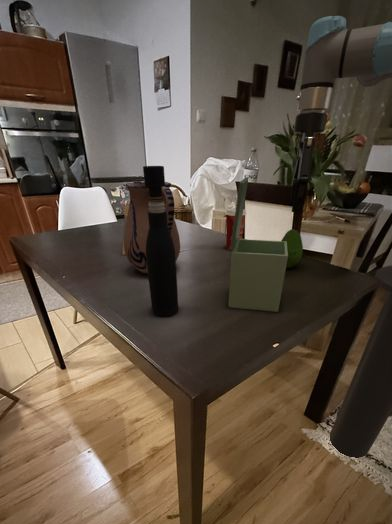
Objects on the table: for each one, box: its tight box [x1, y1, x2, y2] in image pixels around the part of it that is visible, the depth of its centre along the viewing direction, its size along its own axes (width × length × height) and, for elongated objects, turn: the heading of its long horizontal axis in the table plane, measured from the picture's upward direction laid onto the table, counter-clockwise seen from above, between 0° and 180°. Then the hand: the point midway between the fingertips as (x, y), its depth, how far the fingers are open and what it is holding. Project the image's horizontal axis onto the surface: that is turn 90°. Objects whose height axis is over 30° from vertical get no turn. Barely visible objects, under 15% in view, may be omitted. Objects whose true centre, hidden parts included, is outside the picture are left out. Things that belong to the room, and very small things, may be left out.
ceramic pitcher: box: [123, 180, 181, 274], centre depth 85 cm, size 18×21×25 cm
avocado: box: [280, 228, 304, 269], centre depth 90 cm, size 8×8×12 cm
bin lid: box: [229, 177, 249, 251], centre depth 63 cm, size 13×12×1 cm
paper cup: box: [225, 207, 247, 252], centre depth 108 cm, size 8×8×14 cm
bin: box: [227, 238, 288, 313], centre depth 70 cm, size 12×12×14 cm
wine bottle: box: [142, 165, 179, 318], centre depth 61 cm, size 6×6×30 cm
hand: (295, 207), depth 82 cm, fingers open, 13 cm apart
